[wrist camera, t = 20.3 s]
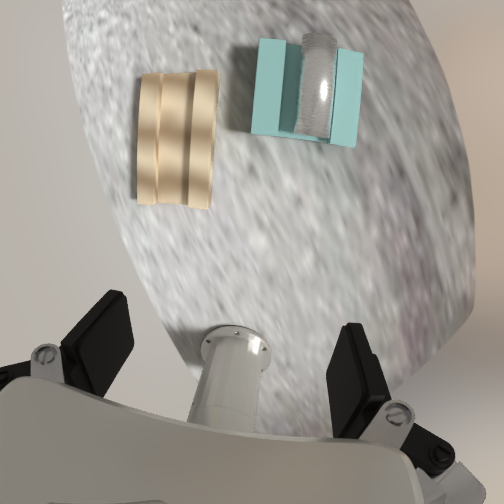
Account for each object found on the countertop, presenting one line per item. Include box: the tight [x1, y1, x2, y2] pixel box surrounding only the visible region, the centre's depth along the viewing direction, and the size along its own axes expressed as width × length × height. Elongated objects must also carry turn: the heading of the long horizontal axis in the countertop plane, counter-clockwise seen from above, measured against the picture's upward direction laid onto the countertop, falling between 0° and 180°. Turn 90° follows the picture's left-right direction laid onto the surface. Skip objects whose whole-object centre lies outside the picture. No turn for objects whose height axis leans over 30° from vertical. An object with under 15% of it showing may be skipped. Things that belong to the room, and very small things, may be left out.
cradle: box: [251, 38, 363, 148], centre depth 29 cm, size 12×12×4 cm
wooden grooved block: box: [137, 70, 220, 210], centre depth 33 cm, size 18×10×2 cm, turn 175°
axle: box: [294, 33, 338, 138], centre depth 26 cm, size 12×4×4 cm, turn 175°
